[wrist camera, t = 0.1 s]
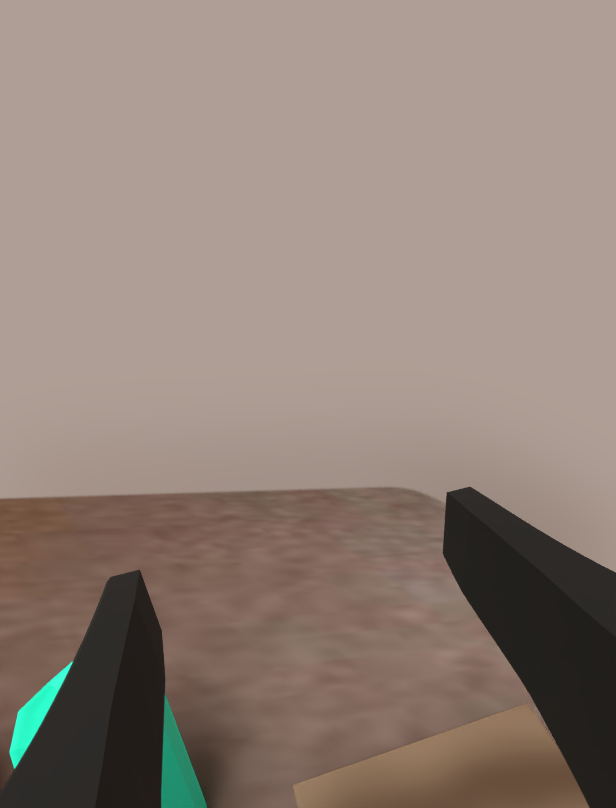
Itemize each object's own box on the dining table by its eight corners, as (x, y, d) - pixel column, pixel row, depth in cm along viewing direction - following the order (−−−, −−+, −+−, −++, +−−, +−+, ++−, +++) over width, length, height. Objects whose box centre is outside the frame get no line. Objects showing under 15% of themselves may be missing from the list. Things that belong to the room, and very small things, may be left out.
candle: (191, 753, 30) (136, 602, 24) (225, 867, 25) (164, 710, 19) (82, 814, 28) (-6, 663, 22) (95, 952, 23) (-14, 801, 17)
